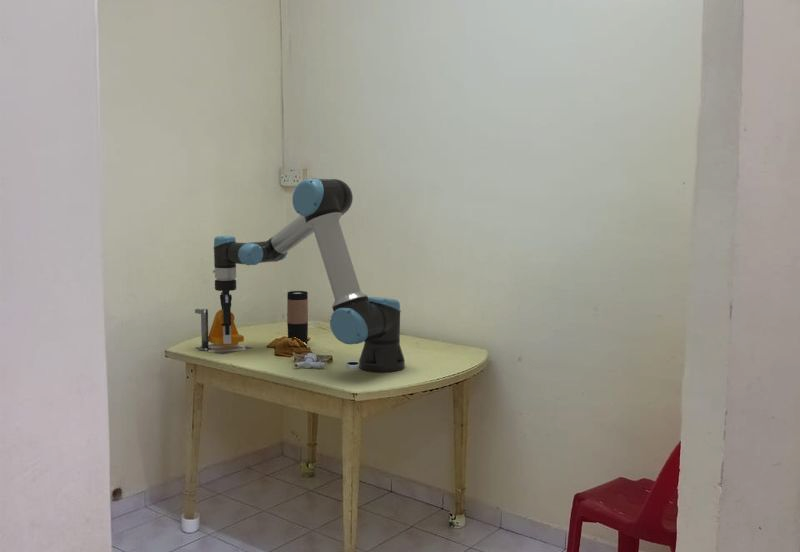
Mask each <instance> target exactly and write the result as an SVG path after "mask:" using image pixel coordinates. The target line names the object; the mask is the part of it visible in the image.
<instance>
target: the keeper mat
mask: <svg viewBox="0 0 800 552" xmlns="http://www.w3.org/2000/svg"><path fill="white" fill-rule="evenodd" d="M200 347H201V346H198V347H194V349H196V350H199V348H200ZM209 347H211V348H212V349H211V350H208V351H207V352H208V353H215V354H219V355H228V354H232V353H237V352H241V351H246V350H251V349H254V347H252V346H248V345H247V346H246V345H245V344H238V345H231V346H221V345H215V344H213V343H211V344H209Z"/></svg>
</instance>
